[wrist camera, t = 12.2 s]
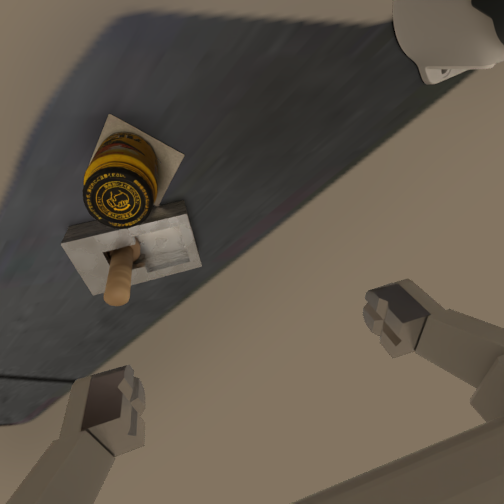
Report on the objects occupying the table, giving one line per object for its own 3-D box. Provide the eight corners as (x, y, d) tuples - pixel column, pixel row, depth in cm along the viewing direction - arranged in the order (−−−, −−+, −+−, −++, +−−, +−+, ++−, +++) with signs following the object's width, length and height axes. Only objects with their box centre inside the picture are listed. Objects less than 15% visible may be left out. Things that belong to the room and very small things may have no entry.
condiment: (109, 113, 30) (88, 141, 20) (184, 154, 34) (196, 194, 24) (85, 174, 32) (56, 224, 23) (158, 205, 36) (159, 259, 27)
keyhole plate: (183, 200, 37) (186, 213, 34) (198, 250, 42) (201, 266, 38) (68, 226, 35) (60, 243, 32) (97, 275, 39) (93, 295, 36)
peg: (134, 228, 37) (129, 277, 29) (144, 253, 39) (143, 304, 31) (101, 236, 36) (87, 288, 28) (114, 261, 38) (105, 315, 30)
